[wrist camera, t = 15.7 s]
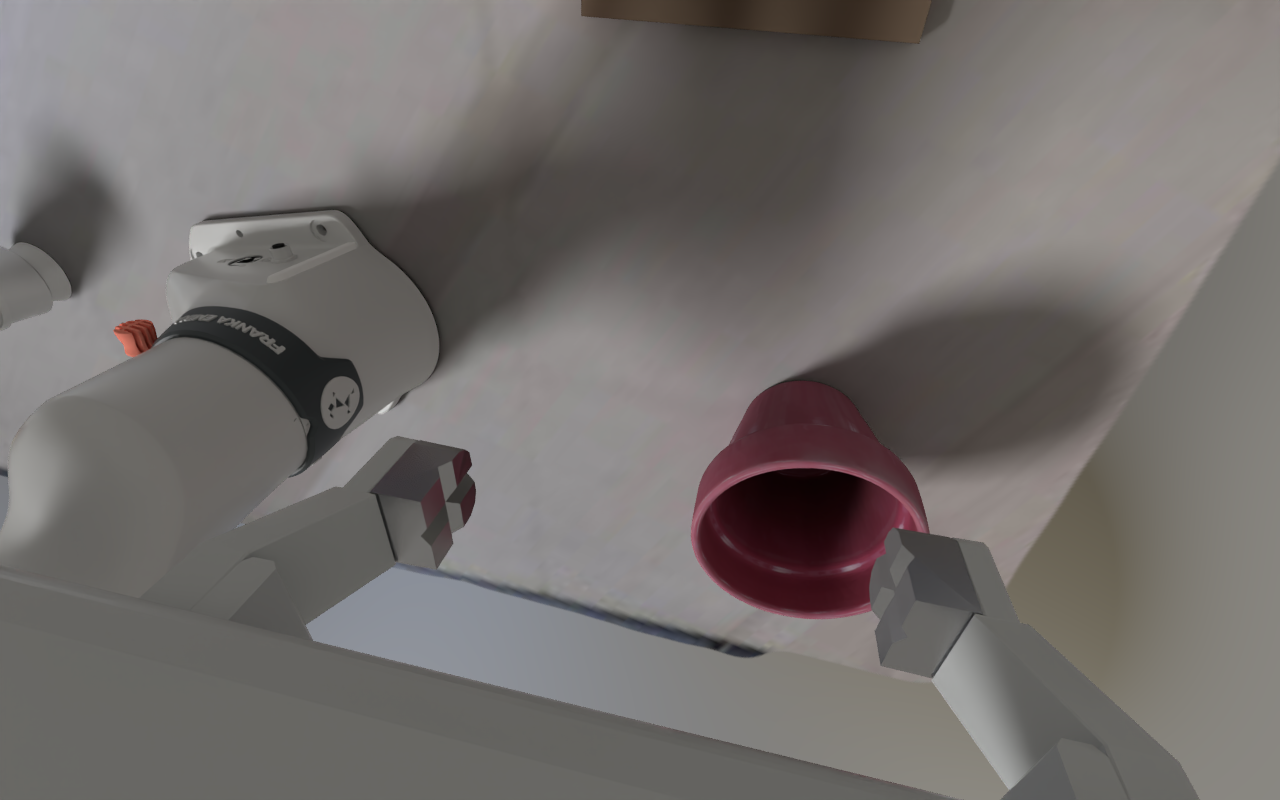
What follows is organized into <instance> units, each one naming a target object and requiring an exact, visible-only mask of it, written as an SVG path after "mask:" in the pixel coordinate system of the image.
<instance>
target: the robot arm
mask: <svg viewBox="0 0 1280 800" xmlns="http://www.w3.org/2000/svg"><path fill="white" fill-rule="evenodd" d="M323 226H324V227H325V228H326V230H327V231H325V229H324V228H323ZM189 253H190V259H191V261H188V262H186V263H184V264H182V265H180V266H178V267H176V268H174V269H173V270H172V271H171V272H170V274H169V276H168V278H167V282H166V298H167V304H168V307H169V311H170V315H171V319H172V322H173V324H172V325H171V326H170V327H169V328H168V329H167V330H166V331H165V332H164V333H163V334H162V335H161V336H160V337H159V338H157V335H156V331H155V328H154V325H153V323H152V322H151V321H149V320H135V321H128V322H126V323H122V324H120V326H116V327H115V329H114V333H115V335H116V336H117V338H118V339H119V340H120V341H121V342H122V344H123V345H124V347H125V353H126V354H127V355H128V356H131V357H133V358H131V359H129V360H127V361H125V362H123V363H121V364H119V365H117V366H115V367H113V368H111V369H109V370H107V371H105V372H103V373H101V374H99V375H97V376H95V377H93V378H91V379H89V380H87V381H85V382H83V383H81V384H79V385H77V386H75V387H73V388H71V389H69V390H67V391H64V392H62V393H60V394H58V395H56V396H54V397H52V398H50V399H49V400H47V401H45V402H44V403H43V404H42V405H41V406H40V407H38V408H37V409H36V410H35V411H34V412H33V413H32V414H31V415H30V416H29V418H28V419H27V420H26V421H25V422H24V424H23V425H22V426H21V428H20V429H19V431H18V432H17V434H16V436H15V438H14V439H13V441H12V444H11V447H10V450H9V456H8V480H9V506H8V512H7V515H6V518H5V521H4V524H3V526H2V529H1V531H0V800H962V799H958V798H954V797H950V796H946V795H941V794H938V793H933V792H929V791H925V790H921V789H917V788H913V787H909V786H905V785H901V784H897V783H892V782H888V781H884V780H880V779H876V778H872V777H868V776H864V775H860V774H855V773H851V772H847V771H843V770H839V769H835V768H831V767H827V766H822V765H818V764H815V763H810V762H806V761H802V760H798V759H794V758H790V757H786V756H782V755H778V754H773V753H769V752H765V751H761V750H757V749H753V748H749V747H745V746H741V745H737V744H732V743H728V742H724V741H720V740H716V739H712V738H708V737H704V736H700V735H696V734H692V733H687V732H684V731H679V730H675V729H671V728H667V727H663V726H659V725H655V724H651V723H647V722H643V721H638V720H635V719H630V718H626V717H622V716H618V715H614V714H610V713H606V712H602V711H597V710H593V709H590V708H586V707H581V706H577V705H573V704H569V703H565V702H561V701H557V700H553V699H549V698H544V697H541V696H536V695H532V694H528V693H524V692H520V691H516V690H512V689H508V688H504V687H500V686H495V685H491V684H487V683H483V682H479V681H475V680H471V679H467V678H463V677H459V676H455V675H451V674H446V673H442V672H438V671H434V670H430V669H426V668H422V667H418V666H414V665H409V664H406V663H401V662H397V661H393V660H389V659H385V658H381V657H377V656H372V655H369V654H365V653H360V652H356V651H352V650H348V649H344V648H340V647H336V646H332V645H328V644H323V643H319V642H316V641H313V639H312V637H311V635H310V633H309V631H308V629H307V627H306V624H308V623H309V622H311V621H312V620H313V619H315V618H317V617H318V616H320V615H321V614H322V613H324V612H325V611H327V610H328V609H330V608H331V607H333V606H334V605H336V604H337V603H339V602H340V601H342V600H343V599H345V598H346V597H348V596H349V595H351V594H352V593H354V592H355V591H357V590H358V589H360V588H361V587H363V586H364V585H366V584H367V583H369V582H370V581H372V580H373V579H375V578H376V577H378V576H379V575H381V574H382V573H384V572H385V571H387V570H388V569H390V568H391V567H393V566H394V565H395V564H396V563H395V562H399V563H404V564H409V565H415V566H420V567H426V568H431V569H436V570H437V568H438V566H439V565H440V563H441V562H442V560H443V559H444V557H445V556H446V554H447V552H448V551H449V549H450V548H451V546H452V545H453V539H452V534H451V533H453V532H455V531H457V530H459V529H461V528H462V527H464V526H465V524H466V522H467V521H468V519H469V517H470V516H471V513H472V510H473V507H474V504H475V496H476V489H475V482H474V481H473V479H472V478H471V477H470V476H469V475H468V474H467V472H468V470H469V469H470V467H471V466H472V463H471V458H470V453H469V452H468V451H466V450H464V449H460V448H455V447H450V446H446V445H441V444H436V443H431V442H426V441H422V440H420V441H418V440H414V439H409V438H405V437H400V436H396V437H394V438H391V439H389V440H388V441H387V442H386V443H385V444H384V445H383V447H382V448H381V449H380V450H379V451H378V452H377V453H376V454H375V455H374V456H373V457H372V458H371V459H370V460H369V461H368V462H367V463H366V464H365V465H364V466H363V467H362V468H361V469H360V470H359V471H358V472H357V474H356V475H355V476H354V477H353V478H352V479H351V480H350V481H349V482H348V483H347V484H346V485H345V486H344V487H343V488H341V487H333V488H331V489H329V490H326V491H324V492H321V493H319V494H317V495H314V496H312V497H310V498H307V499H305V500H302V501H300V502H298V503H295V504H293V505H290V506H288V507H286V508H283V509H281V510H279V511H276V512H274V513H271V514H269V515H267V516H264V517H262V518H259V519H257V520H255V521H252V522H250V523H248V524H245V525H243V526H241V527H238V528H236V527H237V525H239V524H240V523H241V522H242V521H243V520H244V519H245V518H246V517H247V516H248V515H249V514H250V513H251V512H252V511H253V510H254V509H255V508H256V507H257V506H258V505H259V504H260V503H261V502H262V501H263V500H264V499H265V498H266V497H267V496H269V495H270V494H271V493H272V492H273V491H274V490H275V489H276V488H277V487H278V486H279V485H280V484H281V483H283V482H284V481H285V480H286V479H287V478H289V477H293V476H296V475H298V474H300V473H302V472H303V471H305V470H306V469H307V468H309V467H310V466H312V465H314V464H315V463H316V462H317V461H319V460H320V459H321V458H322V456H323V455H324V454H325V453H326V452H327V451H328V450H330V449H331V448H332V447H333V446H334V445H335V444H336V443H337V442H338V441H339V440H340V439H342V438H343V437H345V436H346V435H348V434H349V433H350V432H352V431H353V430H355V429H356V428H357V427H359V426H360V425H362V424H363V423H364V422H366V421H367V420H368V419H370V418H371V417H372V416H374V415H375V414H385V413H387V412H388V411H390V410H391V409H392V408H394V407H395V405H396V404H397V403H398V401H399V399H400V397H401V396H402V395H403V394H404V393H406V392H408V391H410V390H412V389H414V388H415V387H417V386H419V385H421V384H422V383H423V382H425V381H426V380H427V379H428V378H429V377H430V375H431V374H432V372H433V371H434V369H435V366H436V364H437V361H438V356H439V336H438V331H437V327H436V323H435V320H434V317H433V315H432V312H431V310H430V308H429V306H428V304H427V302H426V300H425V299H424V297H423V296H422V294H421V293H420V291H419V290H418V288H417V287H416V286H415V285H414V283H413V282H412V281H411V280H410V279H409V277H408V276H407V275H406V274H405V273H404V272H403V271H402V270H401V269H399V268H398V267H397V266H396V265H395V264H394V263H393V262H391V261H390V260H389V259H387V258H386V257H385V256H383V255H382V254H381V253H379V252H378V251H377V250H376V249H375V248H373V247H372V246H371V245H370V244H369V242H368V241H367V240H366V238H365V237H364V235H363V234H362V233H361V231H360V230H359V229H358V228H357V226H356V225H355V224H354V223H353V221H352V220H351V219H350V218H349V217H348V216H347V215H345V214H344V213H342V212H340V211H337V210H326V211H314V212H302V213H290V214H278V215H266V216H254V217H242V218H230V219H218V220H207V221H202V222H199V223H197V224H195V225H193V226H192V227H191V230H190V236H189ZM235 528H236V529H235ZM884 545H885V550H886V554H884V555H882V556H880V557H878V558H877V559H876V561H875V564H874V566H873V569H872V572H871V578H870V585H869V593H870V603H871V610H872V611H873V612H874V613H875V614H876V615H877V617H878V618H879V619H880V622H879V624H878V626H877V628H876V630H875V635H876V641H877V647H878V653H879V658H880V664H881V666H884V667H888V668H892V669H896V670H900V671H904V672H909V673H913V674H917V675H921V676H925V677H929V678H933V679H932V680H931V681H932V682H933V683H934V685H935V686H936V688H937V689H938V690H939V692H940V693H941V695H942V696H943V697H944V699H945V700H946V702H947V703H948V704H949V706H950V707H951V709H952V710H953V712H954V713H955V714H956V716H957V717H958V719H959V720H960V722H961V723H962V724H963V726H964V727H965V729H966V730H967V731H968V733H969V734H970V736H971V737H972V738H973V740H974V741H975V743H976V744H977V745H978V747H979V748H980V750H981V751H982V753H983V754H984V755H985V757H986V758H987V760H988V761H989V762H990V764H991V765H992V767H993V768H994V769H995V771H996V772H997V774H998V775H999V777H1000V778H1001V779H1002V781H1003V782H1004V783H1005V785H1006V786H1007V788H1008V789H1009V791H1008V792H1007V794H1005V795H1004V796H1003V798H1002V799H1001V800H1200V799H1199V797H1198V795H1197V794H1196V792H1195V790H1194V788H1193V786H1192V785H1191V783H1190V781H1189V779H1188V777H1187V775H1186V773H1185V772H1184V770H1183V768H1182V766H1181V764H1180V763H1179V762H1178V761H1177V760H1176V759H1175V758H1174V757H1173V756H1172V755H1171V754H1170V753H1168V751H1166V750H1165V749H1164V748H1163V747H1162V746H1161V745H1160V744H1159V743H1158V742H1157V741H1156V740H1154V739H1153V738H1152V737H1151V736H1150V735H1149V734H1148V733H1147V732H1146V731H1145V730H1144V729H1143V728H1141V727H1140V726H1139V725H1138V724H1137V723H1136V722H1135V721H1134V720H1133V719H1132V718H1131V717H1129V716H1128V715H1127V714H1126V713H1125V712H1124V711H1123V710H1122V709H1121V708H1120V707H1119V706H1117V705H1116V704H1115V703H1114V702H1113V701H1112V700H1111V699H1110V698H1109V697H1108V696H1106V695H1105V694H1104V693H1103V692H1102V691H1101V690H1100V689H1099V688H1098V687H1097V686H1096V685H1095V684H1093V683H1092V682H1091V681H1090V680H1089V679H1088V678H1087V677H1086V676H1085V675H1084V674H1083V673H1081V672H1080V671H1079V670H1078V669H1077V668H1076V667H1075V666H1074V665H1073V664H1072V663H1071V662H1069V661H1068V660H1067V659H1066V658H1065V657H1064V656H1063V655H1062V654H1061V653H1060V652H1059V651H1058V650H1056V649H1055V648H1054V647H1053V646H1052V645H1051V644H1050V643H1049V642H1048V641H1047V640H1046V639H1044V638H1043V637H1042V636H1041V635H1040V634H1039V633H1038V632H1037V631H1036V630H1035V629H1034V628H1032V627H1031V626H1030V625H1028V624H1023V623H1020V622H1019V619H1018V617H1017V614H1016V612H1015V610H1014V607H1013V605H1012V602H1011V600H1010V598H1009V595H1008V593H1007V591H1006V588H1005V586H1004V583H1003V581H1002V579H1001V576H1000V574H999V572H998V569H997V567H996V564H995V562H994V560H993V557H992V555H991V553H990V550H989V548H988V547H987V546H986V545H985V544H984V543H982V542H976V541H971V540H965V539H959V538H950V537H945V536H940V535H934V534H928V533H922V532H917V531H911V530H905V529H899V528H894V527H893V528H892V529H891V530H890V531H889V532H888V534H887V536H886V539H885V541H884Z"/></svg>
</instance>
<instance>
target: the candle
mask: <svg viewBox="0 0 1280 800" xmlns="http://www.w3.org/2000/svg"><path fill="white" fill-rule="evenodd" d="M71 294H72V292H71V285H70V282H69V280H68V278H67V276H66V274H65V273H64V271H63V270H62V269H61V267H60V266H59V265H58V264H57V263H56V262H55V261H54V260H53V259H52V258H51V257H50V256H49V255H48V254H46V253H45V252H44V251H42V250H41V249H39V248H37V247H36V246H33V245H31V244H29V243H23V242H20V243H16V244H15V245H14V246H12V247H11V248H10V249H9V250H8V249H6V248H4V247H1V246H0V331H2V330H5V329H7V328H8V327H10V326H11V323H14V322H18V321H21V320H25V319H28V318H31V317H35V316H38V315H41V314H45V313H47V312H49V311H50V310H51V308H52V305H53V301H65V300H67V299H69V298H70V296H71Z"/></svg>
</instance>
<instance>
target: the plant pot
mask: <svg viewBox="0 0 1280 800" xmlns="http://www.w3.org/2000/svg"><path fill="white" fill-rule="evenodd" d="M893 527H894V528H899V529H905V530H911V531H917V532H922V533H928V534H930V532H929V527H928V522H927V518H926V514H925V510H924V506H923V503H922V499H921V496H920V493H919V490H918V487H917V484H916V482H915V480H914V478H913V476H912V475H911V473H910V472H909V470H908V469H907V467H906V466H905V465H904V464H903V463H902V461H901V460H900V459H899V458H898V457H897V456H896V455H895V454H894V453H892V452H891V451H890V450H889V449H887V448H886V447H884V446H883V445H881V444H880V443H879V442H878V440H877V438H876V437H875V435H874V434H873V432H872V431H871V429H870V428H869V426H868V425H867V423H866V422H865V421H864V419H863V418H862V416H861V415H860V413H859V412H858V410H857V408H856V407H855V405H854V404H853V403H852V402H851V401H850V399H849V398H848V397H847V396H845V395H844V394H843V393H841V392H840V391H838V390H837V389H835V388H833V387H830V386H828V385H825V384H822V383H818V382H813V381H791V382H785V383H781V384H778V385H775V386H773V387H771V388H769V389H767V390H765V391H764V392H762V393H761V394H760V395H758V396H757V397H756V398H755V399H754V400H753V401H752V403H751V404H750V406H749V407H748V409H747V411H746V413H745V415H744V417H743V419H742V421H741V423H740V424H739V426H738V428H737V430H736V432H735V434H734V436H733V438H732V440H731V442H730V444H729V446H727V447H726V448H725V449H724V450H722V451H721V452H720V453H719V454H718V455H717V456H716V457H715V458H714V459H713V461H712V462H711V463H710V464H709V466H708V467H707V469H706V471H705V473H704V474H703V476H702V479H701V481H700V484H699V488H698V493H697V498H696V503H695V508H694V514H693V520H692V527H691V541H692V546H693V550H694V553H695V556H696V558H697V560H698V562H699V564H700V565H701V567H702V568H703V570H704V571H705V572H706V573H707V575H708V576H709V577H710V578H711V579H712V580H713V581H714V582H715V583H716V584H717V585H718V586H720V587H721V588H722V589H723V590H725V591H726V592H728V593H729V594H730V595H732V596H734V597H735V598H737V599H739V600H741V601H743V602H745V603H747V604H749V605H751V606H753V607H756V608H758V609H761V610H764V611H767V612H771V613H775V614H779V615H783V616H789V617H796V618H805V619H832V618H841V617H848V616H853V615H858V614H862V613H865V612H869V611H872V610H871V603H870V593H869V585H870V578H871V572H872V569H873V566H874V564H875V561H876V559H877V558H878V557H880V556H882V555H884V554H886V550H885V545H884V541H885V539H886V536H887V534H888V532H889V531H890V530H891V529H892V528H893Z"/></svg>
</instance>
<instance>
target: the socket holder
mask: <svg viewBox="0 0 1280 800" xmlns="http://www.w3.org/2000/svg"><path fill="white" fill-rule="evenodd" d="M931 2H932V0H581V16H587V17H599V18H611V19H624V20H636V21H648V22H660V23H673V24H685V25H697V26H709V27H721V28H734V29H746V30H758V31H770V32H782V33H795V34H807V35H819V36H831V37H844V38H856V39H868V40H880V41H892V42H905V43H917V44H919V42H920V39H921V36H922V32H923V29H924V25H925V22H926V19H927V15H928V12H929V9H930V5H931Z"/></svg>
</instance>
